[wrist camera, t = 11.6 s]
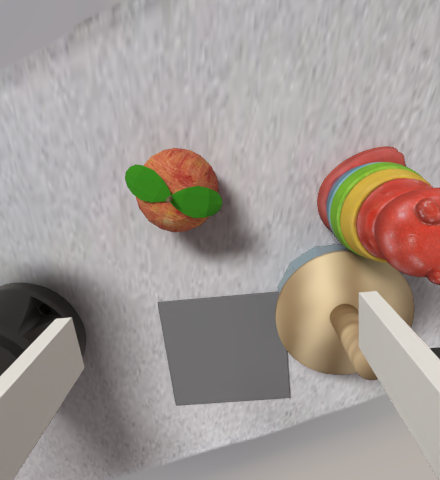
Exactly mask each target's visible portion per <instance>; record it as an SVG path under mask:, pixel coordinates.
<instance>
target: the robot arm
mask: <svg viewBox="0 0 440 480" xmlns="http://www.w3.org/2000/svg"><path fill="white" fill-rule="evenodd" d="M85 346H86V336H85V331H84V327H83V324H82V322H81V320H80V318H79V316H78V314H77V313H76V311H75V310H74V309H73V307H72V306H71V305H70V304H69V303H68V302H67V301H66V300H65V299H63V298H62V297H61V296H59V295H58V294H56V293H55V292H53V291H51V290H49V289H47V288H45V287H42V286H39V285H35V284H30V283H10V284H6V285H2V286H0V480H14V478H15V476H16V475H17V473H18V472H19V470H20V469H21V467H22V465H23V464H24V462H25V461H26V459H27V458H28V456H29V454H30V453H31V451H32V450H33V448H34V447H35V445H36V443H37V442H38V440H39V439H40V437H41V436H42V434H43V432H44V431H45V429H46V428H47V426H48V425H49V423H50V422H51V420H52V418H53V417H54V415H55V414H56V412H57V411H58V409H59V407H60V406H61V404H62V403H63V401H64V400H65V398H66V396H67V395H68V393H69V392H70V390H71V389H72V387H73V385H74V384H75V382H76V381H77V379H78V378H79V376H80V374H81V373H82V371H83V370H84V368H85V367H84V363H83V359H82V357H83V354H84V351H85ZM359 348H360V350H361V351H362V353H363V355H364V356H365V358H366V360H367V361H368V363H369V365H370V366H371V368H372V370H373V371H374V373H375V375H376V376H377V378H378V380H379V381H380V383H381V385H382V386H383V388H384V390H385V391H386V393H387V395H388V396H389V398H390V400H391V401H392V403H393V405H394V406H395V408H396V410H397V411H398V413H399V415H400V416H401V418H402V420H403V422H404V423H405V425H406V426H407V428H408V430H409V431H410V433H411V435H412V437H413V438H414V440H415V441H416V443H417V445H418V446H419V448H420V450H421V452H422V453H423V455H424V457H425V458H426V460H427V461H428V463H429V465H430V467H431V468H432V470H433V472H434V473H435V475H436V477H437V478H438V480H440V348H429V347H428V346H427V345H426V344H425V343H424V342H423V341H422V340H421V339H420V338H419V336H418V335H417V334H416V333H415V332H414V331H413V330H412V329H411V328H410V327H409V326H408V325H407V324H406V322H405V321H404V320H403V319H402V318H401V317H400V316H399V315H398V314H397V313H396V312H395V311H394V310H393V308H392V307H391V306H390V305H389V304H388V303H387V302H386V301H385V300H384V299H383V298H382V297H381V295H380V294H379V293H378V292H377V291H371V292H360V293H359Z"/></svg>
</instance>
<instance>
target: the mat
mask: <svg viewBox="0 0 440 480" xmlns="http://www.w3.org/2000/svg"><path fill="white" fill-rule="evenodd" d="M278 296H279V292H268V293H257V294H245V295H234V296H223V297H211V298H200V299H188V300H177V301H166V302H158V308H159V314H160V319H161V325H162V331H163V336H164V342H165V347H166V353H167V358H168V364H169V370H170V375H171V381H172V386H173V392H174V397H175V403H176V405H190V404H205V403H220V402H234V401H249V400H264V399H278V398H290V393H289V378H288V364H287V350H286V349H285V347H284V345H283V344H282V342H281V340H280V337H279V334H278V331H277V327H276V320H275V309H276V303H277V299H278Z"/></svg>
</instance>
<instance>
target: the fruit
mask: <svg viewBox="0 0 440 480" xmlns="http://www.w3.org/2000/svg"><path fill="white" fill-rule="evenodd" d="M125 180H126V184H127V186H128V188H129V189H130V191H131V192H132V194H134V195H135V196H136V199H137V202H138V205H139V208H140V210H141V211H142V212H143V214H144V215H145V217H146V218H147V219H148V221H150V222H151V223H153V224H154V225H156V226H158V227H159V228H161V229H163V230H167V231H171V232H183V231H188V230H191V229H193V228H195V227H198V226H200V225H201V224H203V223H204V222H205V221H206V220H207V219H208V218H209V216H212V215H214V214H216V213H217V212H218V211H219V210H220V208H221V206H222V198H221V196H220V195H219V189H218V180H217V177H216V175H215V172H214V171H213V169H212V167H211V166H210V164H209V163H208V162H207V161H206V160H205V159H204V158H202V157H201V156H200V155H198V154H196V153H194V152H192V151H190V150H186V149H178V148H173V149H168V150H163V151H161V152H159V153H157V154H155V155H153V156H152V157H151V158H150V159H149V160H148V161H147V162H146V163H145V164H144V166H142V165H134V166H131V167H130V168H129V169H128V170H127V171H126V176H125Z"/></svg>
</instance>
